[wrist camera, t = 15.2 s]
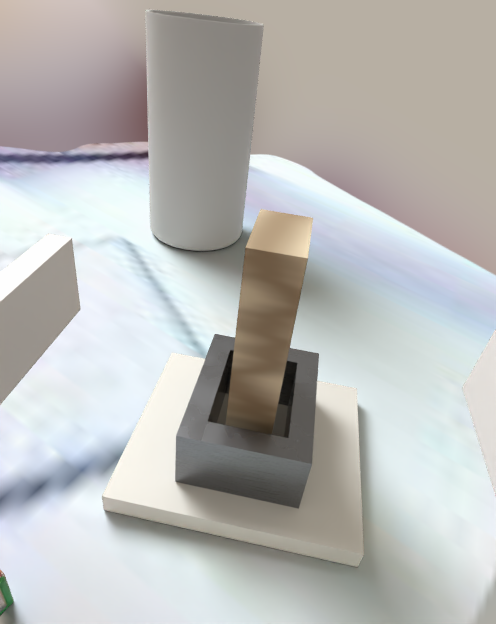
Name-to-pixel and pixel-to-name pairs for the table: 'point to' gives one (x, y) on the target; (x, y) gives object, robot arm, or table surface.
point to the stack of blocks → (4, 594)
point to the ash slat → (266, 317)
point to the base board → (237, 509)
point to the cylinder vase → (200, 125)
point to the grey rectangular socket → (248, 433)
